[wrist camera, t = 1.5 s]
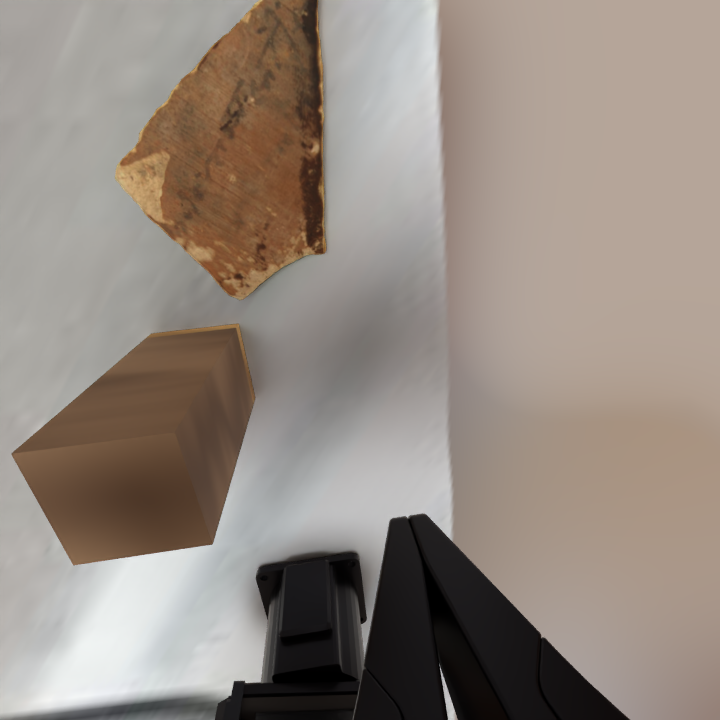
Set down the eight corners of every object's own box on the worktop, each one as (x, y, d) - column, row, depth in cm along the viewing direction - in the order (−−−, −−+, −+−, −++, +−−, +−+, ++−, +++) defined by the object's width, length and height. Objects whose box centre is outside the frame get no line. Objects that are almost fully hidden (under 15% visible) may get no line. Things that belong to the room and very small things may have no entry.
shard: (316, -48, 14) (317, -80, 12) (439, 143, 16) (453, 138, 15) (118, 173, 16) (95, 171, 14) (258, 309, 18) (252, 320, 17)
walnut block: (255, 397, 20) (212, 544, 11) (175, 407, 19) (73, 565, 11) (238, 323, 18) (174, 432, 10) (151, 333, 18) (11, 454, 10)
